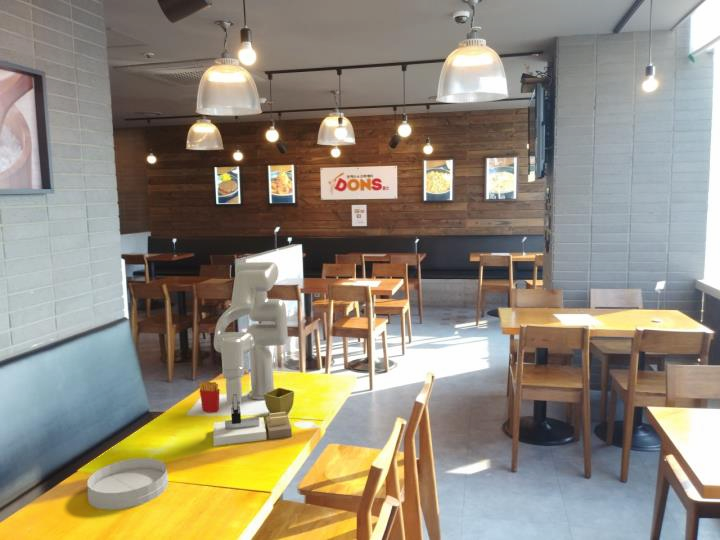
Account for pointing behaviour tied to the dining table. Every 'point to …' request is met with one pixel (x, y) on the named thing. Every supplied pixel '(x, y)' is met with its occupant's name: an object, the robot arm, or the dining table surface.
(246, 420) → the bolt
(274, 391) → the flower pot
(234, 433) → the slide latch panel
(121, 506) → the dish
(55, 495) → the dining table surface
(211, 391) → the french fries
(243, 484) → the dining table surface
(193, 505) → the dining table surface
